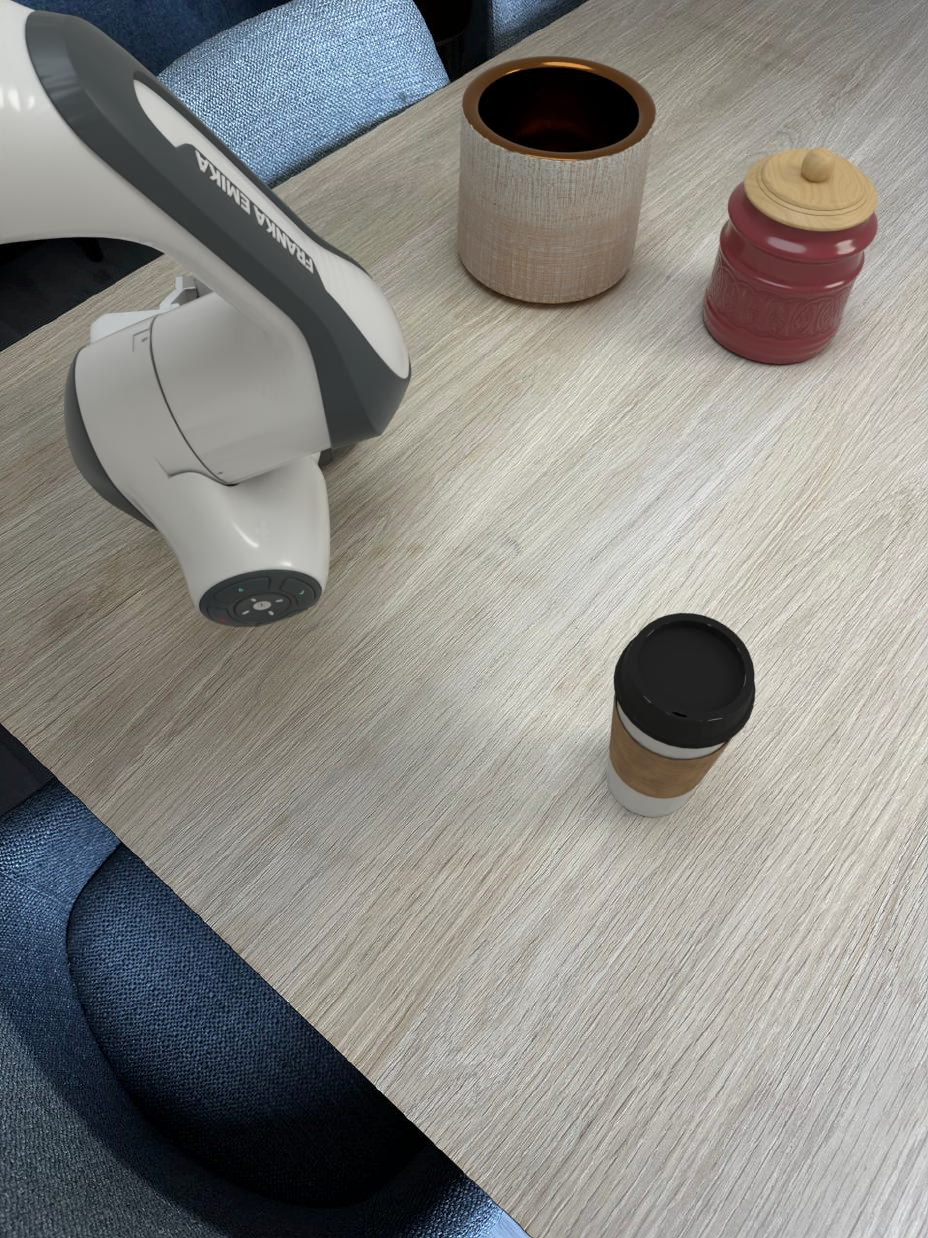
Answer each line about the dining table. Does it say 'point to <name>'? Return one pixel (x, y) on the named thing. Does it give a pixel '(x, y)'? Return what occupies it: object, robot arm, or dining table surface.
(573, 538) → the dining table surface
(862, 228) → the kitchen canister
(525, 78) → the planter
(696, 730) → the coffee cup
